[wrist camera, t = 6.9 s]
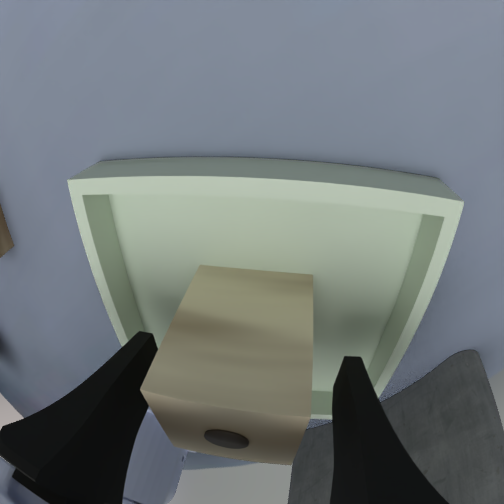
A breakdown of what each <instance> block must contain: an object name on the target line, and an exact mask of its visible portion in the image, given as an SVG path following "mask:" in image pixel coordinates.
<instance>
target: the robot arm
mask: <svg viewBox="0 0 504 504" xmlns="http://www.w3.org/2000/svg"><path fill="white" fill-rule="evenodd" d="M157 351H158V347H157V344H156V341H155V338H154V335H153V333H148V332H143V331H139V332H137V333H136V334H135V335H134V336H133V337H132V338H131V339H130V340H129V341H128V342H127V343H126V344H125V345H124V346H123V347H122V348H121V349H120V350H119V351H118V352H117V353H116V354H114V355H113V356H112V357H111V358H110V359H109V360H108V361H107V362H106V363H105V364H104V365H103V366H102V367H101V368H99V369H98V370H97V371H96V372H95V373H94V374H92V375H91V376H90V377H89V378H88V379H87V380H85V381H84V382H83V383H82V384H80V385H79V386H78V387H77V388H75V389H74V390H73V391H71V392H70V393H68V394H67V395H66V396H64V397H63V398H61V399H59V400H58V401H56V402H55V403H53V404H51V405H50V406H48V407H46V408H44V409H43V410H41V411H39V412H37V413H35V414H33V415H31V416H28V417H26V418H24V419H21V420H19V421H16V422H13V423H11V424H8V425H5V426H3V427H2V429H1V430H0V456H1V457H0V504H167V503H168V502H170V501H171V500H172V498H173V497H174V495H175V493H176V489H177V486H178V483H179V479H180V476H181V472H182V469H183V466H184V462H185V459H186V456H187V452H193V453H197V452H195V451H190V450H186V449H182V448H178V447H174V446H173V444H172V443H171V441H170V440H169V438H168V436H167V435H166V433H165V432H164V430H163V429H162V427H161V425H160V424H159V422H158V420H157V419H156V417H155V415H154V414H153V412H152V410H151V408H150V407H149V405H148V403H147V401H146V400H145V398H144V396H143V394H142V392H141V391H140V388H141V386H142V384H143V381H144V379H145V377H146V375H147V373H148V370H149V368H150V366H151V364H152V362H153V360H154V358H155V355H156V353H157ZM332 425H333V449H334V470H333V480H332V489H331V497H330V504H449V503H448V502H447V501H446V500H445V499H444V498H443V497H442V496H441V495H440V494H439V492H438V491H437V490H436V489H435V488H434V487H433V486H432V484H431V483H430V482H429V481H428V480H427V478H426V477H425V476H424V475H423V473H422V472H421V471H420V469H419V468H418V467H417V465H416V464H415V463H414V461H413V460H412V458H411V457H410V455H409V454H408V452H407V451H406V449H405V448H404V446H403V444H402V443H401V441H400V440H399V438H398V436H397V434H396V433H395V431H394V429H393V427H392V425H391V423H390V421H389V420H388V418H387V416H386V414H385V412H384V409H383V407H382V405H381V403H380V401H379V399H378V397H377V394H376V392H375V390H374V387H373V385H372V383H371V380H370V378H369V375H368V373H367V370H366V368H365V365H364V362H363V359H362V358H361V357H359V356H344V358H343V361H342V364H341V366H340V369H339V372H338V374H337V377H336V380H335V382H334V385H333V397H332ZM3 458H4V459H5V460H4V459H3ZM8 462H9V463H8Z"/></svg>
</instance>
